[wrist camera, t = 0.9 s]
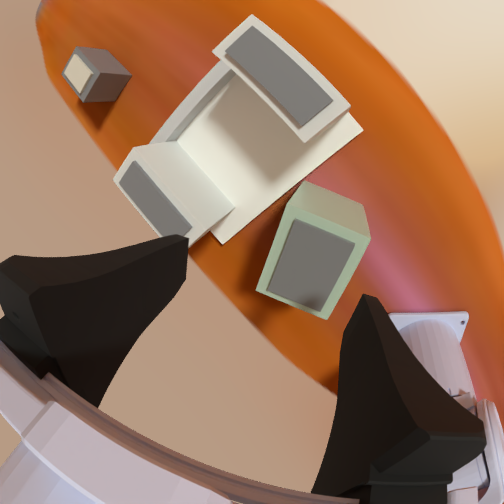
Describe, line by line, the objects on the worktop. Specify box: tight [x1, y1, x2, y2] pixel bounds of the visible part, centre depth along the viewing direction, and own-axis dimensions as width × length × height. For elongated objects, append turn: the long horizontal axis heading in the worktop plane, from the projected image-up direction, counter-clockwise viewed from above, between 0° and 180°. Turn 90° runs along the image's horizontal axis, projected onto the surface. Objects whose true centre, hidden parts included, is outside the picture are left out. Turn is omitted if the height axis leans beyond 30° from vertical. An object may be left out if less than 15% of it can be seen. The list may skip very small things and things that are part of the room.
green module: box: [256, 181, 371, 320], centre depth 17 cm, size 4×6×7 cm
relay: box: [62, 46, 132, 103], centre depth 18 cm, size 5×3×4 cm, turn 44°
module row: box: [113, 15, 363, 248], centre depth 17 cm, size 10×14×6 cm
